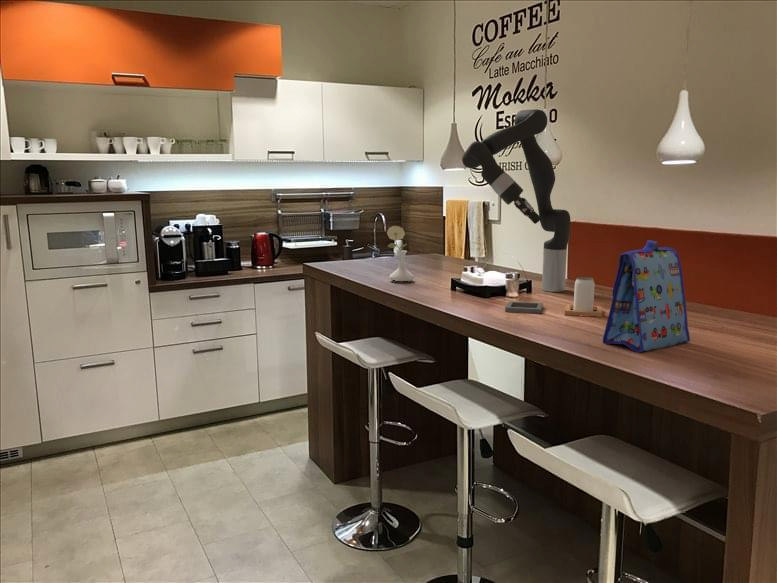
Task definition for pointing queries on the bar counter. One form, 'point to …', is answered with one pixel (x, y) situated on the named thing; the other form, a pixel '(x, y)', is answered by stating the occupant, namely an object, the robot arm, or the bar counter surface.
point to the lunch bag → (648, 300)
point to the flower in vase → (401, 272)
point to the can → (584, 294)
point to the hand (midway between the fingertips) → (538, 221)
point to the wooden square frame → (583, 313)
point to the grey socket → (510, 305)
